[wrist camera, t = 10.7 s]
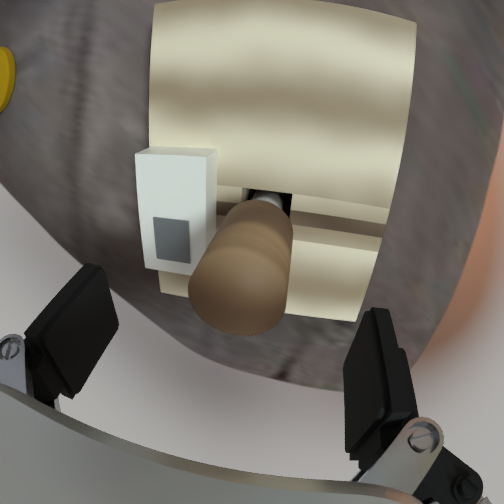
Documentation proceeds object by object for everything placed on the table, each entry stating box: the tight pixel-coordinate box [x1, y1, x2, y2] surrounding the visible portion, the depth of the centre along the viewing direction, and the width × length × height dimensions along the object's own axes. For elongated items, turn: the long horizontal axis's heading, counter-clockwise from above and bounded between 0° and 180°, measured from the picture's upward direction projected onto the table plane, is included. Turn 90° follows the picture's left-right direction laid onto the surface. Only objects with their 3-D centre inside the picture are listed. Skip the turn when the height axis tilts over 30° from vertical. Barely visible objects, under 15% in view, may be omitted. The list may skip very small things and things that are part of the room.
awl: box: [188, 189, 293, 336], centre depth 17 cm, size 4×4×12 cm
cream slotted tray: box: [149, 0, 417, 322], centre depth 20 cm, size 22×16×3 cm
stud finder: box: [135, 146, 218, 276], centre depth 19 cm, size 8×4×2 cm, turn 175°
